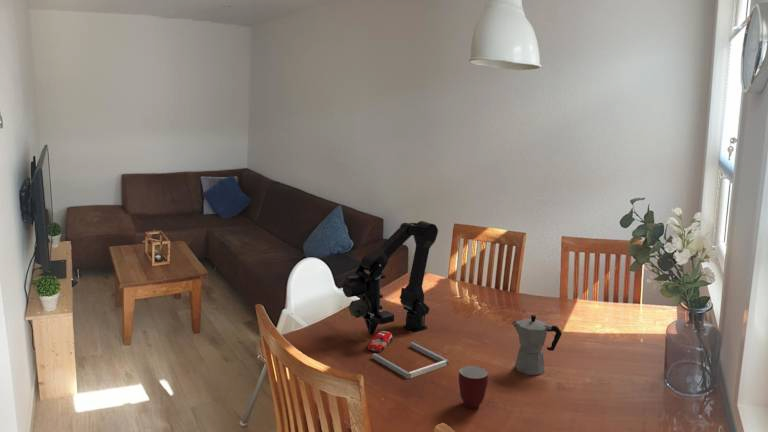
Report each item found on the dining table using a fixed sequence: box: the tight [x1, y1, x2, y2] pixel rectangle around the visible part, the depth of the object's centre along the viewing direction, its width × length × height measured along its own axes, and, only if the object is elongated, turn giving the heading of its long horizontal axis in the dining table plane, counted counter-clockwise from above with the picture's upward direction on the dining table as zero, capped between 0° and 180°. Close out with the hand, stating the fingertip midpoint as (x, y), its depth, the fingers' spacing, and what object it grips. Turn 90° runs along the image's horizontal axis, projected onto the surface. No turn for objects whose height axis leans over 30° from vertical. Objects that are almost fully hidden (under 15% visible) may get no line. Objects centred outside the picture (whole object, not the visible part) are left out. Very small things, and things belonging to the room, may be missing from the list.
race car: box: [367, 330, 393, 353], centre depth 216 cm, size 13×5×4 cm, turn 157°
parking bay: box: [372, 341, 450, 380], centre depth 204 cm, size 17×18×2 cm
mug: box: [458, 365, 489, 409], centre depth 178 cm, size 11×8×10 cm
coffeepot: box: [511, 314, 563, 376], centre depth 199 cm, size 15×9×18 cm, turn 68°
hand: (371, 334), depth 220 cm, fingers closed
